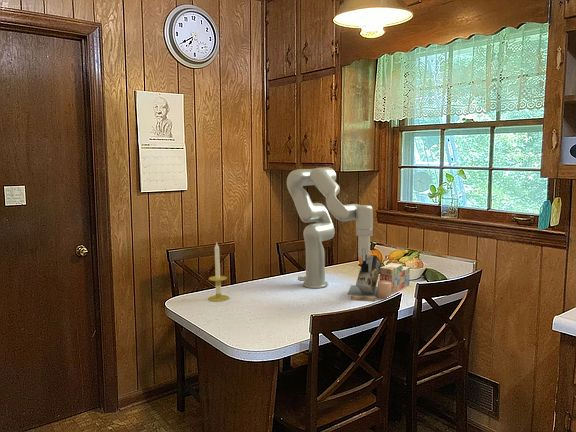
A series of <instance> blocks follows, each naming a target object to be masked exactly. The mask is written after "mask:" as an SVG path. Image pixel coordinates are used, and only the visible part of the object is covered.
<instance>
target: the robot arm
mask: <svg viewBox="0 0 576 432" xmlns="http://www.w3.org/2000/svg"><path fill="white" fill-rule="evenodd" d="M335 171H336V170H334V169H333V168H332V167H325V166H324V167H315V168H299V169H295V170H292V171H291V172H290V173H288V176H287V178H286V188H287V190H288V193H289V194H290V197H291V198H292V201H293V202H294V206H295V209H296V212H297V213H298V216H299V218H300V220H301V222H303V223H305V224H306V223H311V224H308V225H306V226H305V227H304V229H303V234H302V235H303V240H304V247H305V275H304V276H297V281H299V282H303V283H302V286H303V287H305V288H309V289H324V288H327V287H328V285H329V283H328V281H326V279H325V278H326V274H325V273H326V271H325V266H326V263H325V260H326V259H325V256H326V255H325V248H324V245H323V242H325V241H330V240H331V239H333V238H334V236H335V233H336V231H335V227H334V223H333V220H332V218H331V216H330V213H331V215H332V216H333V217H334V218H335V219H337V220H338V221H340V222H350V221H355V236H356V237H358V241H357V254H358V255H357V258H358V259H359V258H360V259H361V260H360V261H361V263H360V268H361V272H368V271H369V269H368V257H369V255H371V254H370V253H371V237H373V236H374V225H373V224H374V216H373V215H374V214H373V213H374V212H373V210H374V208H373V206H372V205H368V204H366V205H365V204H362V205H361V204H358V203H350V204H343V203H342V202H341V201H340V200H339V199H338V198H337V196H338V195H339V193H340V191H341V188H340V185H339V184H338V183H337V182H336V180H337V173H336V172H335ZM305 186H314V187H316V189H318V191H319V192H320V193H321V194H322V195H323V196H324V198H325V203H326V205H324V203H320V202H313V201H312V199H311V197H310V194H309V193H308V192H307V190H306V189H305V188H304V187H305ZM329 212H330V213H329ZM314 222H315V223H314Z"/></svg>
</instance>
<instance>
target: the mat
mask: <svg viewBox="0 0 576 432" xmlns="http://www.w3.org/2000/svg"><path fill="white" fill-rule="evenodd" d="M377 291H378V285H376V288H375V292H374V294H369V293H362V292H361V291H360V289H359V288H358V287H357V286H356V284H354V285H350V287H349V289H348V292H347V295H350V296H367V297H377Z"/></svg>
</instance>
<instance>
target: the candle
mask: <svg viewBox="0 0 576 432" xmlns="http://www.w3.org/2000/svg"><path fill="white" fill-rule="evenodd" d="M220 258H221V257H220V246H219V245H218V242H215V246H214V268H215V270H214V271H215V275H213V276H210V277H209V278H208V281H211V282H215V295H211V296H209V297H208V298H207V300H208V301H210V302H216V303H218V302H219V303H221V302H226V301H228V300H229V299H230V296H228V295H226V294H222V281H225V280H226V281H227V279H228V277H227V276H225V275H221V262H220V261H221V260H220Z"/></svg>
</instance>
